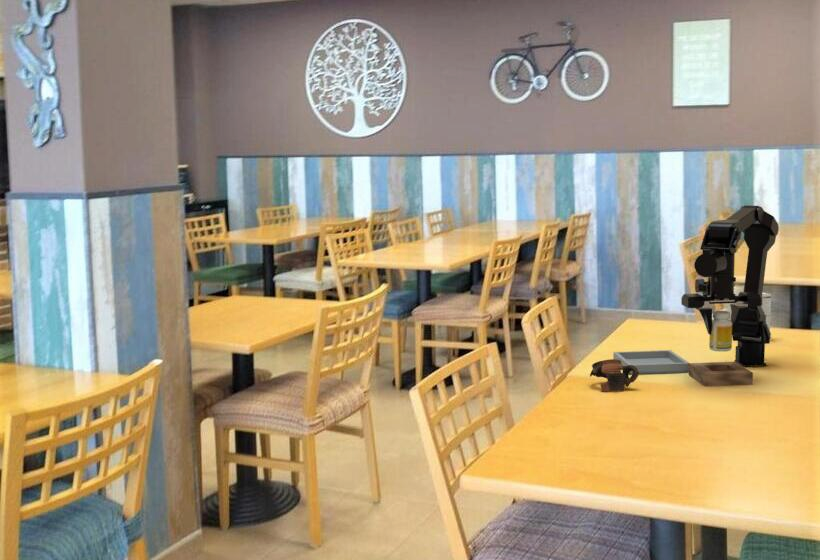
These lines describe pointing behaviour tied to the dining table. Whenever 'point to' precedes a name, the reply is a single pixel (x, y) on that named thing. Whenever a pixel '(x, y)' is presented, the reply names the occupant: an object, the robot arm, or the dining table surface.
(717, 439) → the dining table surface
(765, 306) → the syrup box
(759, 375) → the dining table surface
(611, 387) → the pottery mug
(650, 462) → the dining table surface
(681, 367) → the tray
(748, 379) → the sleeve block
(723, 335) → the supplement bottle
